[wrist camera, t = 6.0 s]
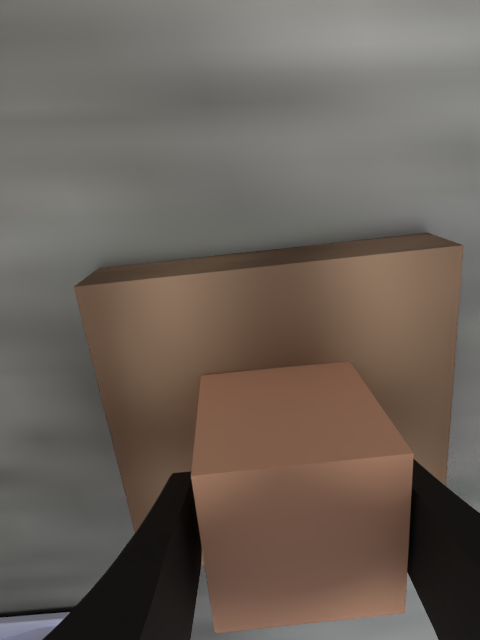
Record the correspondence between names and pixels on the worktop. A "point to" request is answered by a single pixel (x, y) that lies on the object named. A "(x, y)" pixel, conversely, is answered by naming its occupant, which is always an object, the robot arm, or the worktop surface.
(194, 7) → the worktop surface
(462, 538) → the robot arm
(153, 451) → the walnut block
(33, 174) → the worktop surface
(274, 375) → the terracotta cube
